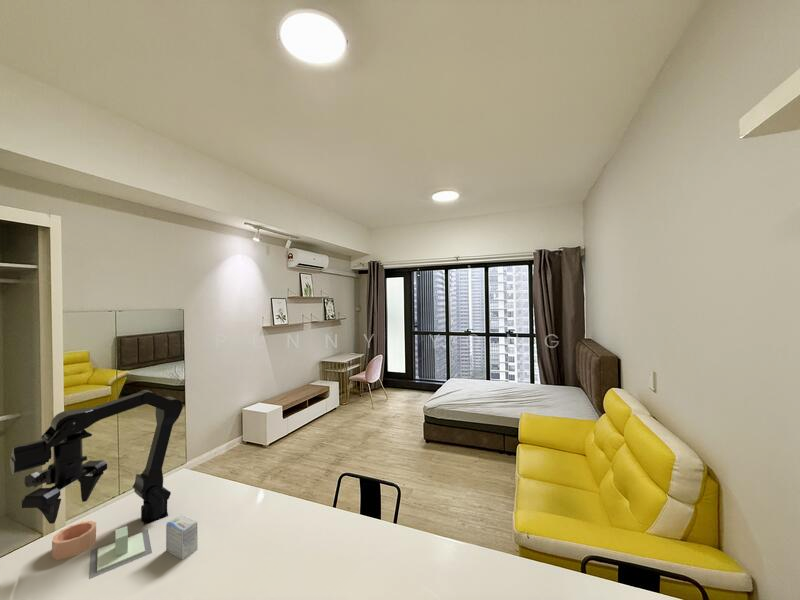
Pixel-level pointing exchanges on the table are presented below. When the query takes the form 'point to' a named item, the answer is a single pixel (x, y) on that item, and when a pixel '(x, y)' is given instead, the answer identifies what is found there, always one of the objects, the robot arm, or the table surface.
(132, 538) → the mint green lid
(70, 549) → the bowl
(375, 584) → the table surface
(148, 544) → the mat
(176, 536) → the medicine box
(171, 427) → the robot arm
